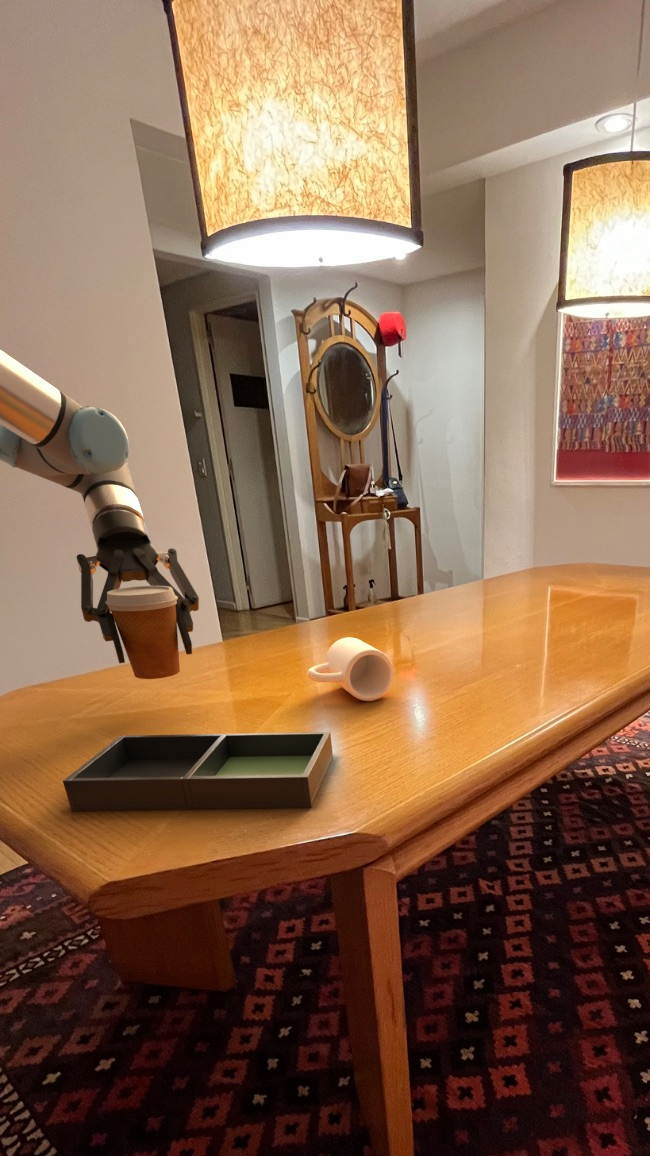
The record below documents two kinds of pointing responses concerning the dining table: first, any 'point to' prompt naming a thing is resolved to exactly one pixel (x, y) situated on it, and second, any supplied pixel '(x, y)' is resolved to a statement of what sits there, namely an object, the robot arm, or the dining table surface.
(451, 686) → the dining table surface
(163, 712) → the dining table surface
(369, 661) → the mug
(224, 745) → the caddy
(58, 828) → the dining table surface
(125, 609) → the disposable coffee cup
